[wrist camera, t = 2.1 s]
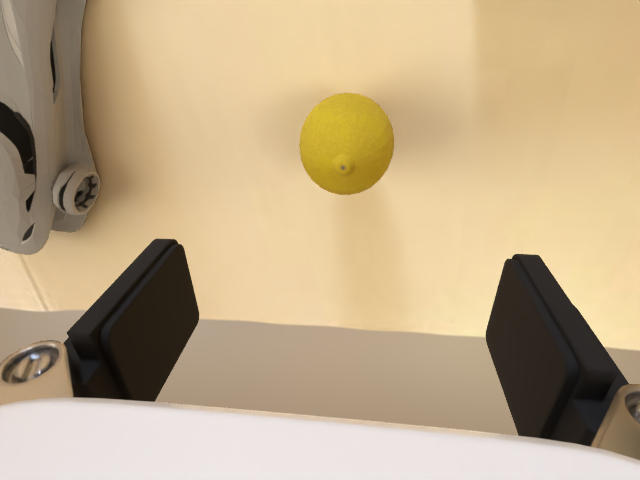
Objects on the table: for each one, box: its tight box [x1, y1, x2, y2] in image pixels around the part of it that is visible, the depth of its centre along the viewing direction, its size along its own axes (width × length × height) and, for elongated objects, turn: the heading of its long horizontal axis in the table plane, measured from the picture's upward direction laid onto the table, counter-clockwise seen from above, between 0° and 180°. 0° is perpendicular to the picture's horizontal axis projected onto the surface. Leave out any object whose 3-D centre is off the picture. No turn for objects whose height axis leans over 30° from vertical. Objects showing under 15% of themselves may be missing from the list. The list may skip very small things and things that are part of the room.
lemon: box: [299, 93, 394, 195], centre depth 23 cm, size 6×6×8 cm
